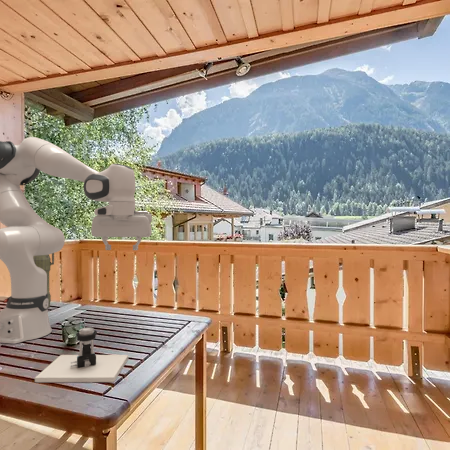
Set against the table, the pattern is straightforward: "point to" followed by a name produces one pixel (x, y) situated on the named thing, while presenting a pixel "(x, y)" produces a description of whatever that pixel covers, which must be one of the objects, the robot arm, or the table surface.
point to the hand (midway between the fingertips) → (121, 250)
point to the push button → (86, 348)
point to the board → (83, 369)
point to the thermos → (45, 269)
